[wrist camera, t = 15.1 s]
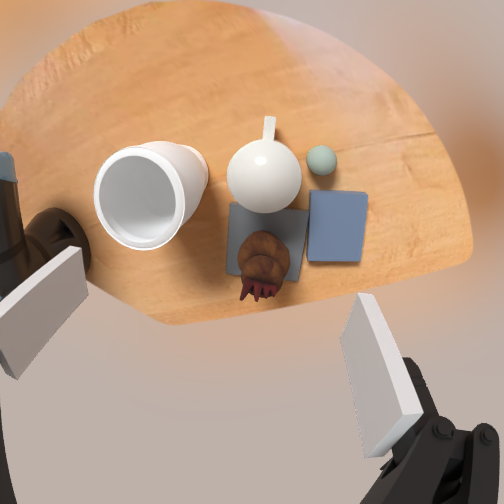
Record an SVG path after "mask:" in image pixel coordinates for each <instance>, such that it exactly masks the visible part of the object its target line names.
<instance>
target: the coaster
mask: <svg viewBox="0 0 504 504" xmlns="http://www.w3.org/2000/svg"><path fill="white" fill-rule="evenodd" d="M308 218H309V210H302V209H293V208H283V209H281V210H279V211H276V212H272V213H257V212H253V211H250V210H248V209H246V208H245V207H243V206H242V205H240V204H239V203H238V202H231V203H230V211H229V227H228V243H227V261H226V274H234V275H241V272H242V271H241V270H240V268H239V265H238V261H237V255H238V252H239V249H240V246H241V245H242V243H243V242H244V241H245V239H246V238H247V237H248V236H249V235H250V234H252V233H253V232H254V231H260V230H264V231H267V232H270V233H272V234H274V235H276V236H277V237H278V238H279V239H280V240H281V241H282V242H283V243H284V244H285V246H286V247H287V248H288V250H289V254H290V267H289V270H288V272H287V275H286V276H285V278H284V279H283V280H287V281H297V282H298V277H299V271H300V266H301V260H302V254H303V248H304V242H305V236H306V230H307V224H308Z"/></svg>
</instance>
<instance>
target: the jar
mask: <svg viewBox="0 0 504 504" xmlns="http://www.w3.org/2000/svg"><path fill="white" fill-rule="evenodd" d="M208 176H209V174H208V167H207V164H206V161H205V159H204V158H203V156H202V155H201V154H200V153H199V152H198V151H197V150H195V149H194V148H192V147H189V146H186V145H179V144H175V143H172V142H166V141H155V142H149V143H145V144H142V145H139V146H130V147H126V148H123V149H121V150H119V151H117V152H115V153H114V154H112V155H111V156H110V157H109V158H108V159H107V160H106V161H105V162H104V163H103V165H102V166H101V168H100V169H99V171H98V174H97V176H96V180H95V184H94V204H95V209H96V212H97V215H98V218H99V220H100V222H101V224H102V225H103V227H104V228H105V230H106V231H107V232H108V233H109V234H110V235H111V236H112V237H113V238H114V239H115V240H116V241H118V242H119V243H121V244H122V245H124V246H126V247H129V248H132V249H136V250H151V249H155V248H158V247H160V246H162V245H164V244H166V243H167V242H168V241H169V240H170V239H171V238H172V237H173V236H174V235H175V234H176V233H177V231H178V230H179V228H180V227H181V226H182V225H183V224H184V223H185V222H186V221H187V220H188V219H189V218H190V217H191V216H192V215H193V213H194V212H195V210H196V209H197V207H198V205H199V203H200V200H201V197H202V194H203V191H204V190H205V188H206V186H207V183H208Z"/></svg>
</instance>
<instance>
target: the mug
mask: <svg viewBox="0 0 504 504" xmlns="http://www.w3.org/2000/svg"><path fill="white" fill-rule="evenodd" d="M275 123H276V117H271V116H265V120H264V131H263V138H260V139H256V140H254V141H252V142H250V143H248V144H247V145H245V146H244V147H242V148H241V149H239V150H238V151H237V152H236V153H235V155H234V156H233V158H232V159H231V161H230V163H229V166H228V170H227V183H228V187H229V190H230V192H231V194H232V196H233V197H234V198H235V200H236V201H237V202H238V203H239V204H240V205H242V206H243V207H245V208H246V209H248V210H250V211H253V212H257V213H272V212H276V211H279V210H281V209H283V208H285V207H286V206H288V205H289V204H290V203H291V202H292V201H293V200H294V199H295V197H296V196H297V194H298V192H299V189H300V187H301V181H302V174H301V168H300V165H299V163H298V161H297V159H296V157H295V156H294V154H293V153H292V151H291V150H290V148H289V147H288V146H287V145H285V144H284V143H283V142H281V141H279V140H277V139H274V133H275Z"/></svg>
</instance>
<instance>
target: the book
mask: <svg viewBox="0 0 504 504" xmlns="http://www.w3.org/2000/svg"><path fill="white" fill-rule="evenodd" d="M367 205H368V195H367V194H366V193H365V192H355V191H336V190H309V218H308V235H307V252H306V256H307V261H360V260H361V255H362V248H363V240H364V232H365V224H366V215H367Z"/></svg>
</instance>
